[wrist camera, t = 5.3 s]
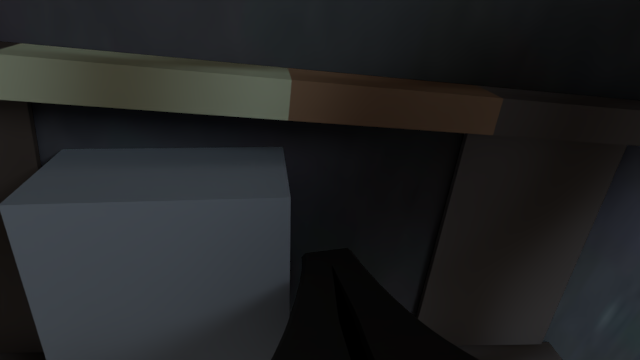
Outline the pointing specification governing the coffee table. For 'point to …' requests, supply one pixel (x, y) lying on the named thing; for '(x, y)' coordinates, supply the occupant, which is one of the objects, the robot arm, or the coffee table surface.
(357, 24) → the coffee table surface
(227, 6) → the coffee table surface
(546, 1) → the coffee table surface
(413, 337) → the robot arm
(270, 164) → the block
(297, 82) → the trap lane
